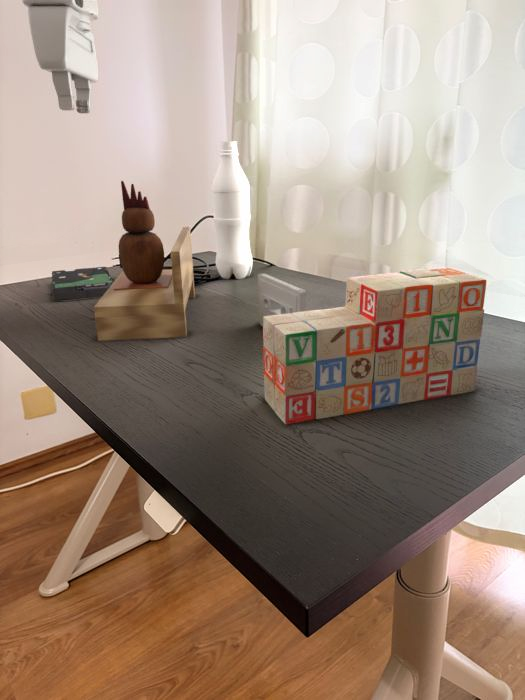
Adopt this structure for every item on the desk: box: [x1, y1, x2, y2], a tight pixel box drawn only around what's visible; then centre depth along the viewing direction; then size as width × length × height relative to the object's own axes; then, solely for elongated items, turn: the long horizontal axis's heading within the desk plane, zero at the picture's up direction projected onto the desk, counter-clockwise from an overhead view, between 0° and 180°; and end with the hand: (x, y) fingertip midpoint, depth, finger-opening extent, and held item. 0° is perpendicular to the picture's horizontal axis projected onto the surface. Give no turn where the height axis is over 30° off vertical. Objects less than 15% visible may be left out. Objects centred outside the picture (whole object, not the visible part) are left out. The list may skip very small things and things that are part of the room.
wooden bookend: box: [93, 226, 196, 342], centre depth 88 cm, size 12×22×12 cm, turn 3°
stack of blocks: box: [262, 267, 487, 425], centre depth 59 cm, size 21×6×12 cm, turn 109°
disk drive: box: [51, 266, 114, 302], centre depth 107 cm, size 10×3×15 cm
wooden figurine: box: [118, 180, 165, 283], centre depth 88 cm, size 7×6×15 cm
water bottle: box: [211, 140, 253, 280], centre depth 110 cm, size 7×7×25 cm
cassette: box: [257, 272, 307, 327], centre depth 79 cm, size 12×2×8 cm, turn 26°
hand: (76, 111), depth 85 cm, fingers open, 8 cm apart
